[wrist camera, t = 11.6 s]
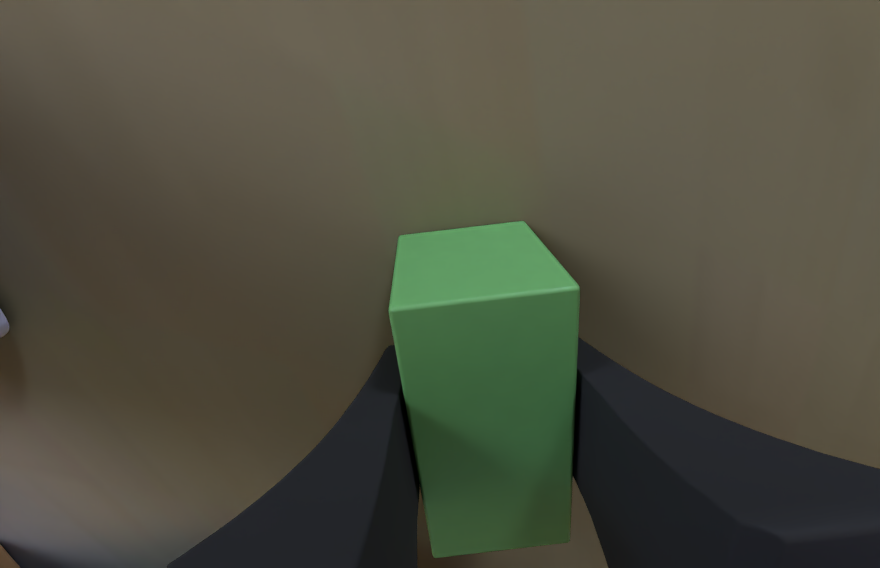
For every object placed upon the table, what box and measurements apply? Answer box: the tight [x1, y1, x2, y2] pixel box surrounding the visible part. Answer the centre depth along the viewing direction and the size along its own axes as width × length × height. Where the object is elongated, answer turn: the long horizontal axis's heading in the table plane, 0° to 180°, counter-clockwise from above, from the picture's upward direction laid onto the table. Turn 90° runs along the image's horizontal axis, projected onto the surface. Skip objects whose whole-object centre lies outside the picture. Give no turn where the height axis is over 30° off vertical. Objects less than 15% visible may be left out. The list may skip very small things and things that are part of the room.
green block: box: [389, 221, 580, 558], centre depth 11 cm, size 7×3×4 cm, turn 6°
